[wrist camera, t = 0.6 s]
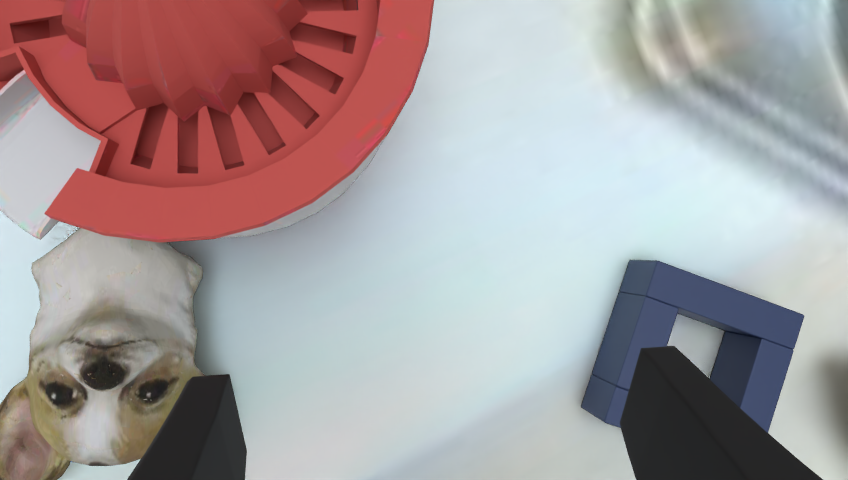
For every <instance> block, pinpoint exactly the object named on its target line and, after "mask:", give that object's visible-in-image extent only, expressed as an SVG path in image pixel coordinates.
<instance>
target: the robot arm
mask: <svg viewBox="0 0 848 480" xmlns="http://www.w3.org/2000/svg"><path fill="white" fill-rule="evenodd" d="M620 426H621V430H622V433H623V437H624V441H625V444H626V448H627V451H628V455H629V458H630V461H631V464H632V467H633V471H634V474H635V477H636V479H637V480H823V479H821V478H820V477H819V476H818V475H817V474H815V473H814V472H813V471H812V470H810V469H809V468H808V467H807V466H806V465H804V464H803V463H802V462H801V461H799V460H798V459H797V458H796V457H795V456H794V455H792V454H791V453H790V452H789V451H788V450H787V449H785V448H784V447H783V446H782V445H781V444H780V443H779V442H777V441H776V440H775V439H774V438H773V437H772V436H771V435H769V434H768V433H767V432H766V431H765V430H764V429H763V428H762V427H760V426H759V425H758V424H757V423H756V422H755V421H754V420H753V419H752V418H751V417H749V416H748V415H747V414H746V413H745V412H744V411H743V410H742V409H741V408H740V407H739V406H737V405H736V404H735V403H734V402H733V401H732V400H731V399H730V398H729V397H728V396H727V395H726V394H725V393H724V392H722V391H721V390H720V389H719V388H718V387H717V386H716V385H715V384H714V383H713V382H712V381H711V380H710V379H709V378H708V377H707V376H706V375H704V374H703V373H702V372H701V371H700V370H699V369H698V368H697V367H696V366H695V365H694V364H693V363H692V362H691V361H690V360H689V359H688V358H686V357H685V356H684V355H683V354H682V353H681V352H680V351H679V350H678V349H677V348H676V347H675V346H665V347H649V348H641V350H640V353H639V357H638V360H637V364H636V368H635V371H634V375H633V378H632V382H631V385H630V389H629V392H628V396H627V399H626V403H625V406H624V410H623V413H622V417H621V420H620ZM246 454H247V450H246V445H245V441H244V437H243V432H242V428H241V423H240V419H239V415H238V410H237V406H236V401H235V397H234V392H233V388H232V384H231V379H230V375H229V374H226V375H211V376H195V377H192V378H191V379H190V380H188V381H187V383H186V385H185V386H184V388H183V390H182V392H181V394H180V395H179V397H178V399H177V401H176V402H175V404H174V406H173V408H172V409H171V411H170V413H169V415H168V416H167V418H166V420H165V421H164V423H163V425H162V426H161V428H160V430H159V431H158V433H157V434H156V436H155V438H154V439H153V441H152V443H151V444H150V446H149V447H148V449H147V451H146V452H145V454H144V455H143V457H142V458H141V460H140V461H139V463H138V464H137V466H136V467H135V469H134V470H133V472H132V473H131V475H130V476H129V478H128V479H127V480H245V468H246Z"/></svg>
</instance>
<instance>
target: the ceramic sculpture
mask: <svg viewBox="0 0 848 480" xmlns="http://www.w3.org/2000/svg"><path fill="white" fill-rule="evenodd" d="M31 269H32V274H33V276H34V279H35V281H36V283H37V285H38V288H39V298H40V304H41V307H40V309H39V311H38V314H37V317H36V322H35V326H34V328H33V330H32V331H31V334H30V355H29V371H28V374H27V377H26V378H25V379H24V380H22V381H21V382H19V383H18V384H17V385H16V386H14V387H13V388H12V389H11V390H10V392H9V393H8V395H7V396H6V397H5V399H4V400H3V402H2V403H1V404H0V480H57V479H58V478H60V477H61V476H62V475H63V474H64V472H65V471H66V469H67V468H68V466H69V464H70V461H72V462H77V463H81V464H85V465H90V466H111V465H118V464H126V463H129V462H132V461H135V460H138V459H141V458H142V457H143V455H144V454H145V452H146V451H147V449H148V447H149V446H150V444H151V443H152V441H153V439H154V438H155V436H156V434H157V433H158V431H159V430H160V428H161V426H162V425H163V423H164V421H165V420H166V418H167V416H168V415H169V413H170V411H171V409H172V408H173V406H174V404H175V402H176V401H177V399H178V397H179V395H180V394H181V392H182V390H183V388H184V386H185V385H186V383H187V381H188V380H190V379H191V378H192V377H195V376H206V375H204V374H203V373H202V372H201V371H200V370H199V369H198V368H197V367H196V365H195V360H194V355H195V348H196V342H197V328H196V327H195V325H194V321H195V319H194V313H193V296H194V294H195V292H196V290H197V288H198V285H199V282H200V281H201V279H202V276H203V269H202V267H201V266H200V265H199V264H197V263H196V262H195V261H194V260H193V259H192V258H191V257H190V256H187V255H184V254H181V253H180V252H178V251H177V250H176V249H175V248H173V247H172V246H171V245H170V244H169V243H168V242H151V241H143V240H135V239H128V238H120V237H112V236H104V235H101V234H98V233H95V232H92V231H89V230H85V229H82V228H79V229H78V230H77V231H76V232H75V233H74V234H72V235H71V236H70V237H69V238H68V239H66V240H65V241H64V242H62V243H61V244H59V245H58V246H57V247H55V248H54V249H53V250H51V251H50V252H48V253H47V254H46V255H44V256H43V257H41V258H40V259H38V260H36V261H35V262H33V263H32V268H31Z"/></svg>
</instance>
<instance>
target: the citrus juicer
mask: <svg viewBox="0 0 848 480" xmlns="http://www.w3.org/2000/svg"><path fill="white" fill-rule="evenodd" d="M433 5H434V0H0V210H1V211H2V212H3V213H4V214H5V215H6V216H7V217H8V218H10V219H11V220H12V221H13V222H14V223H16V224H17V225H18V226H19V227H21V228H22V229H23V230H25V231H26V232H28V233H29V234H31V235H32V236H34V237H36V238H38V239H40V240H41V239H42V238H43V237H44V236H45V235H46V234H47V233H48V232H49V231H50V230H51V229H52V228H53V227H54V226H55V225H56V224H57V223H58V222H59V221H61V222H64V223H67V224H70V225H73V226H76V227H79V228H82V229H85V230H89V231H92V232H95V233H98V234H101V235H104V236H112V237H120V238H128V239H135V240H143V241H151V242H175V241H191V240H206V239H216V238H229V237H244V236H253V235H257V234H261V233H265V232H269V231H273V230H276V229H280V228H284V227H288V226H290V225H293V224H295V223H297V222H299V221H301V220H303V219H305V218H307V217H309V216H311V215H313V214H315V213H317V212H319V211H320V210H322V209H323V208H324V207H326V206H327V205H328V204H330V203H331V202H332V201H334V200H335V199H336V198H338V197H339V196H340V195H342V194H343V193H344V192H345V191H346V190H347V189H348V188H349V187H350V185H351V184H352V183H353V182H354V181H355V180H356V179H357V178H358V176H359V175H360V174H361V173H362V172H363V171H364V170H365V169H366V167H367V166H368V165H369V164H370V162H371V160H372V159H373V157H374V155H375V153H376V152H377V150H378V148H379V147H380V145H381V143H382V141H383V140H384V138H385V137H386V136H387V134H388V133H389V131H390V129H391V127H392V126H393V124H394V122H395V121H396V119H397V117H398V115H399V114H400V112H401V110H402V109H403V107H404V105H405V103H406V102H407V100H408V98H409V97H410V95H411V93H412V91H413V88H414V85H415V83H416V80H417V77H418V74H419V71H420V68H421V65H422V62H423V59H424V56H425V53H426V50H427V47H428V43H429V36H430V28H431V20H432V13H433Z"/></svg>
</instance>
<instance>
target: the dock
mask: <svg viewBox="0 0 848 480" xmlns="http://www.w3.org/2000/svg"><path fill="white" fill-rule="evenodd" d="M619 292H620V293H618V296H617V299H616V302H615V305H614V308H613V311H612V314H611V317H610V320H609V323H608V326H607V329H606V332H605V335H604V338H603V341H602V344H601V348H600V351H599V354H598V357H597V360H596V363H595V366H594V369H593V372H592V374H593V375H591V378H590V381H589V384H588V387H587V390H586V393H585V396H584V399H583V402H582V405H581V407H582V408H583V409H585V410H586V411H588V412H589V413H591V414H592V415H594V416H596V417H597V418H599V419H600V420H602V421H603V422H605V423H608V424H611V425H613V426H616V427H619V428H621V426H620V420H621V417H622V413H623V410H624V406H625V403H626V399H627V396H628V392H629V389H630V385H631V382H632V378H633V375H634V371H635V368H636V364H637V360H638V357H639V353H640V350H641V348H649V347H665V346H667V343H668V340H669V337H670V334H671V331H672V328H673V325H674V322H675V319H676V316H677V313H678V314H681V315H684V316H686V317H689V318H692V319H695V320H697V321H700V322H703V323H706V324H708V325H711V326H714V327H717V328H719V329H722V330H725V334H724V337H723V340H722V343H721V346H720V349H719V352H718V355H717V359H716V362H715V365H714V368H713V371H712V374H711V377H710V380H711V381H712V382H713V383H714V384H715V385H716V386H717V387H718V388H719V389H720V390H721V391H722V392H724V393H725V394H726V395H727V396H728V397H729V398H730V399H731V400H732V401H733V402H734V403H735V404H736V405H737V406H739V407H740V408H741V409H742V410H743V411H744V412H745V413H746V414H747V415H748V416H749V417H751V418H752V419H753V420H754V421H755V422H756V423H757V424H758V425H759V426H760V427H762V428H763V429H764V430H765V431H766V432H767V433H768V430H769V427H770V424H771V421H772V418H773V415H774V411H775V408H776V405H777V402H778V399H779V396H780V392H781V389H782V386H783V383H784V380H785V376H786V373H787V370H788V367H789V364H790V361H791V357H792V354H793V349H794V347H795V344H796V341H797V338H798V335H799V331H800V328H801V325H802V322H803V319H804V315H803V314H800V313H797V312H795V311H792V310H789V309H787V308H784V307H781V306H779V305H776V304H773V303H770V302H768V301H765V300H762V299H760V298H757V297H754V296H752V295H749V294H746V293H744V292H741V291H738V290H735V289H733V288H730V287H727V286H725V285H722V284H719V283H717V282H714V281H711V280H709V279H706V278H703V277H701V276H698V275H695V274H692V273H690V272H687V271H684V270H682V269H679V268H676V267H674V266H671V265H668V264H666V263H663V262H660V261H646V260H630V261H629V264H628V267H627V270H626V273H625V276H624V279H623V282H622V285H621V288H620V291H619Z"/></svg>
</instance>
